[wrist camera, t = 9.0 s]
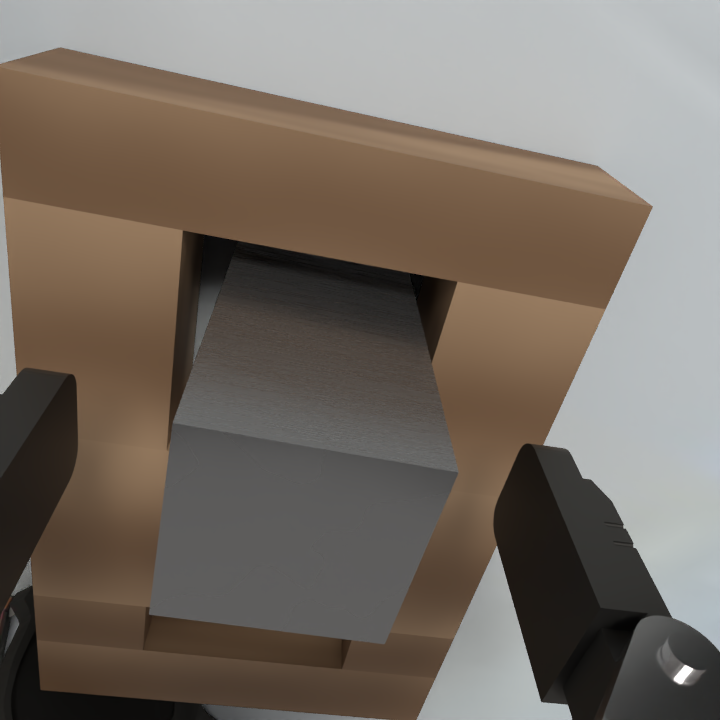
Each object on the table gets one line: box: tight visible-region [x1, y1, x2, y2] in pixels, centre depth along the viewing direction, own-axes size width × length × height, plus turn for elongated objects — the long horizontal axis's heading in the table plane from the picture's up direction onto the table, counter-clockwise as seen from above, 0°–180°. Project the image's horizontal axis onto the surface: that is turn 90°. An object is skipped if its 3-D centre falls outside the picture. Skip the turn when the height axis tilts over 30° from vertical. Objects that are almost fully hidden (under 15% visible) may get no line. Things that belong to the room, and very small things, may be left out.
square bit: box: [149, 241, 459, 644], centre depth 13 cm, size 4×4×8 cm
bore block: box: [0, 48, 653, 720], centre depth 17 cm, size 18×12×3 cm, turn 168°
